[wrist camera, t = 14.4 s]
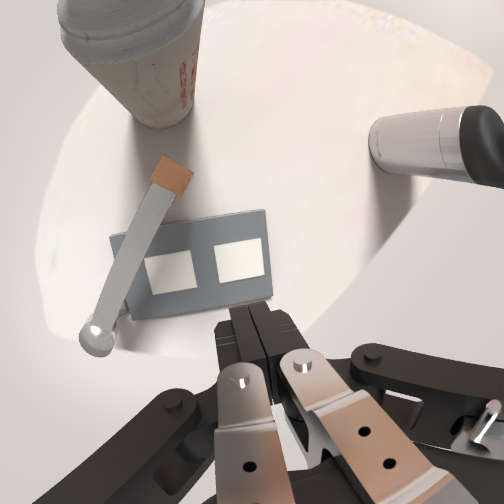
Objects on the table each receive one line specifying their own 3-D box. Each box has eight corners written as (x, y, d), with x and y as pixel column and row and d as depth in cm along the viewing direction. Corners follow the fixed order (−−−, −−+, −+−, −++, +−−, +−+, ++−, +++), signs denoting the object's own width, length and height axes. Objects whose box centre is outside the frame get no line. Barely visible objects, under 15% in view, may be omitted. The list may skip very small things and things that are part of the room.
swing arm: (112, 344, 29) (106, 363, 26) (84, 330, 28) (75, 347, 24) (197, 174, 26) (198, 175, 23) (162, 155, 25) (158, 152, 21)
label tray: (262, 208, 36) (265, 210, 35) (270, 292, 40) (273, 296, 38) (111, 234, 32) (108, 237, 31) (133, 316, 36) (132, 321, 35)
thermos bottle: (204, 82, 30) (254, -93, 3) (178, 137, 31) (145, 18, 5) (147, 65, 27) (94, -100, 1) (121, 119, 29) (-20, 18, 2)
